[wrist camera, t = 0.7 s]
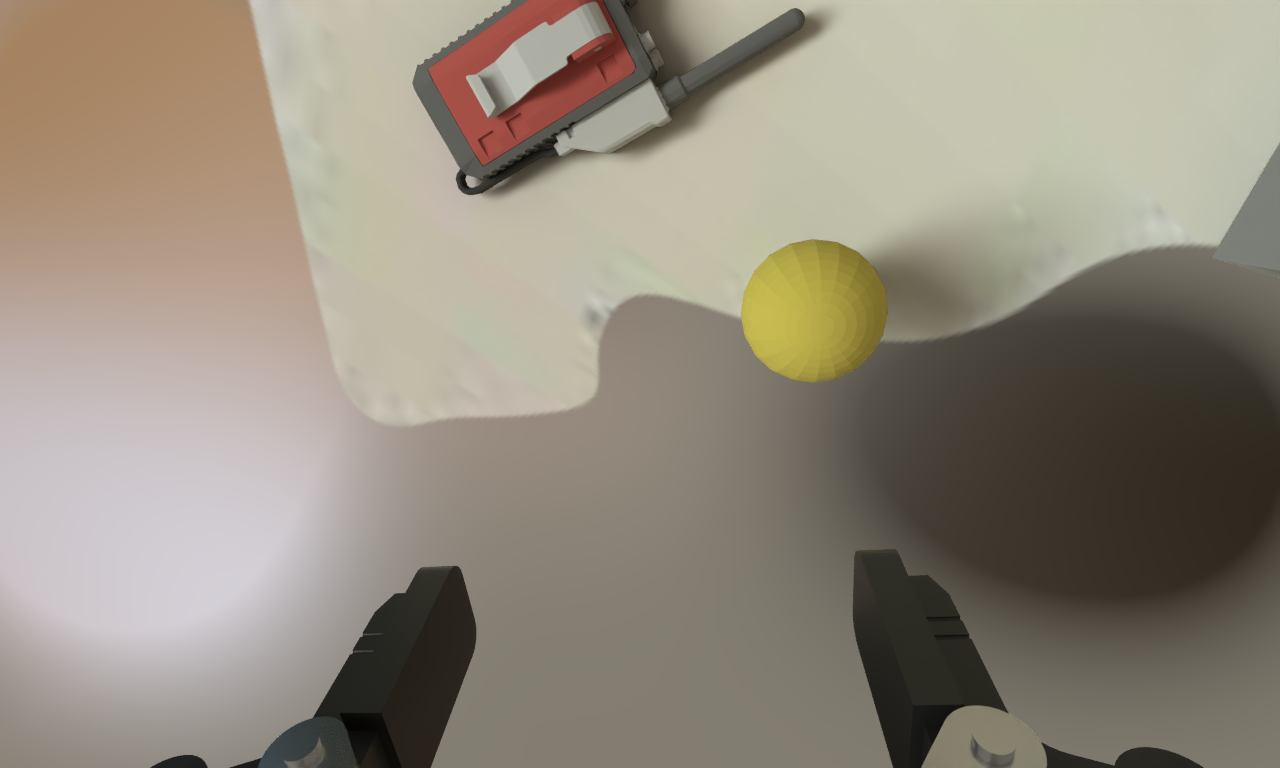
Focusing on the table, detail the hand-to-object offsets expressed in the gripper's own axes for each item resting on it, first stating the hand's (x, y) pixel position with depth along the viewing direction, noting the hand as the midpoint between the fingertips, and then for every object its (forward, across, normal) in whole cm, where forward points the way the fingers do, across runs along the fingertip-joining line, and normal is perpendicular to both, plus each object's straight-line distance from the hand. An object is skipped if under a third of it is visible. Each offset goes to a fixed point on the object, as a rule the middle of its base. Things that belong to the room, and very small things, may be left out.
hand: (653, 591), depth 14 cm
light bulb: (+27, -7, +2) cm, 28 cm away
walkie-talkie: (+29, +3, -10) cm, 31 cm away
